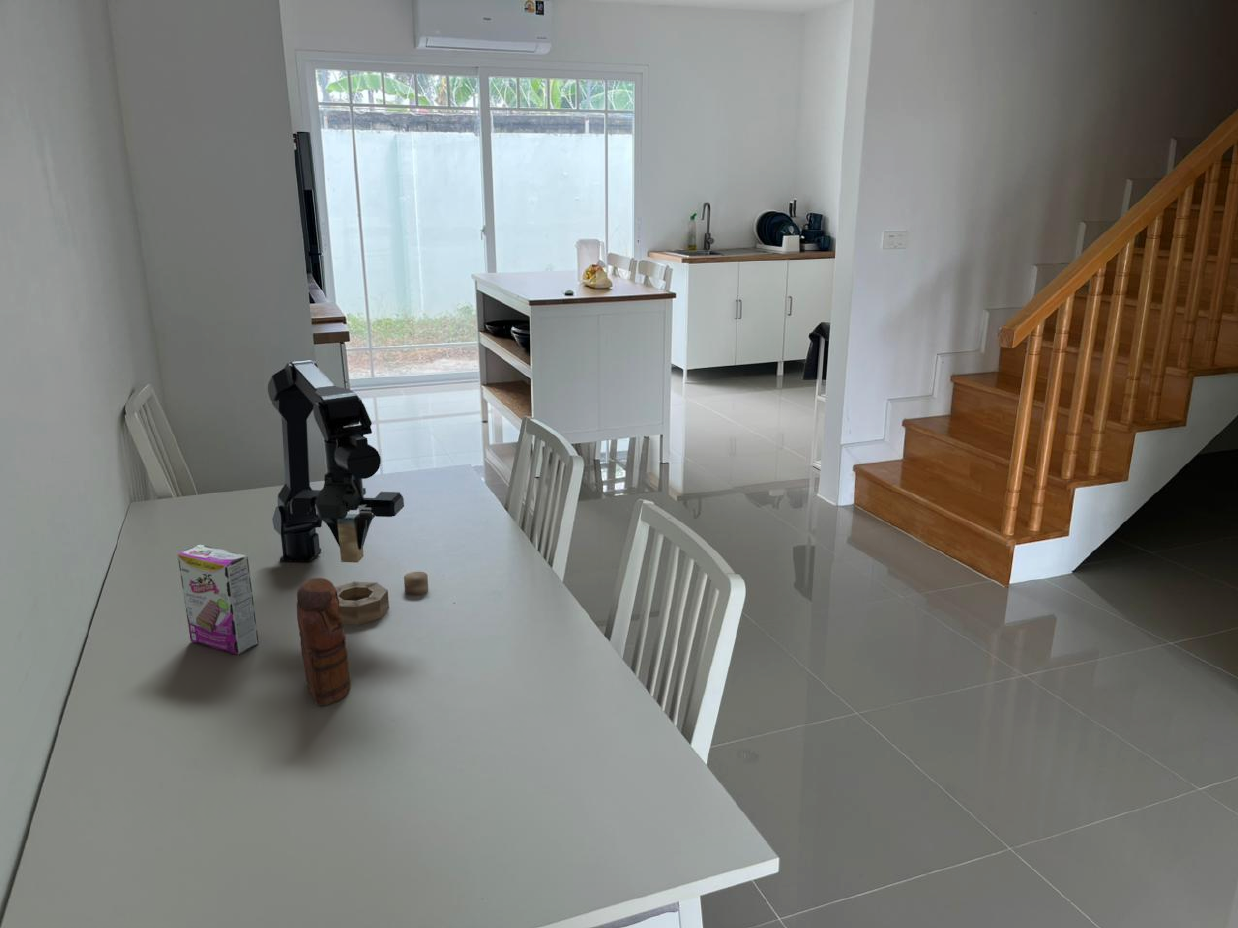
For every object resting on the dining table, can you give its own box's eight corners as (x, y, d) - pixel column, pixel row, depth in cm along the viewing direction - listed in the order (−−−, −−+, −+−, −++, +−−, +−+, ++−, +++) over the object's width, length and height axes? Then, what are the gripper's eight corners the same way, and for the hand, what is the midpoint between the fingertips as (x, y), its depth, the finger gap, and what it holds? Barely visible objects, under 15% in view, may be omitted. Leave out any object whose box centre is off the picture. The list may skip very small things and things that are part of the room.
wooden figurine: (356, 700, 143) (346, 591, 137) (313, 710, 140) (301, 599, 135) (341, 665, 153) (331, 562, 147) (300, 674, 150) (289, 569, 145)
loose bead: (401, 595, 178) (400, 580, 177) (408, 585, 183) (408, 571, 182) (424, 596, 178) (423, 581, 177) (431, 586, 182) (430, 572, 181)
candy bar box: (188, 643, 160) (175, 553, 155) (211, 630, 164) (199, 543, 159) (237, 656, 155) (225, 564, 151) (260, 643, 160) (249, 553, 155)
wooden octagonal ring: (317, 623, 167) (316, 605, 166) (340, 597, 177) (338, 580, 176) (375, 625, 166) (373, 607, 165) (394, 600, 176) (393, 583, 175)
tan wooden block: (341, 562, 167) (337, 519, 165) (347, 555, 170) (343, 513, 168) (357, 562, 167) (353, 519, 165) (363, 556, 170) (359, 514, 167)
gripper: (271, 477, 157) (281, 564, 161) (380, 480, 155) (387, 568, 159) (299, 458, 167) (308, 540, 172) (401, 460, 166) (408, 543, 170)
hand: (351, 548), depth 168 cm, fingers closed on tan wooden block, 3 cm apart
